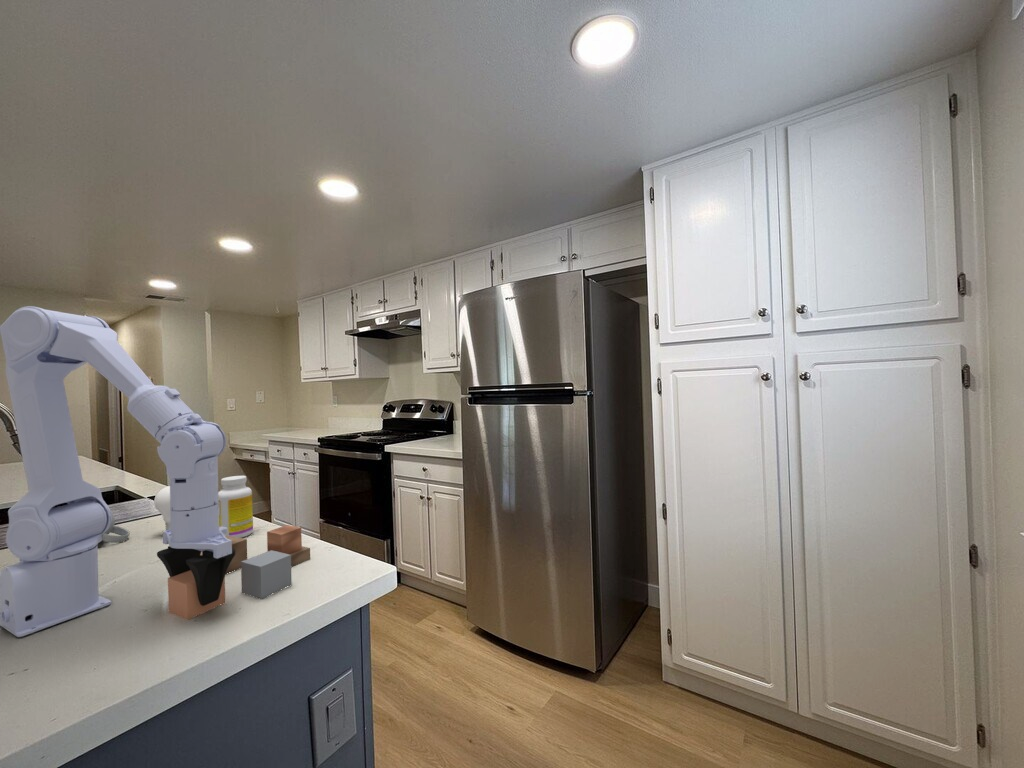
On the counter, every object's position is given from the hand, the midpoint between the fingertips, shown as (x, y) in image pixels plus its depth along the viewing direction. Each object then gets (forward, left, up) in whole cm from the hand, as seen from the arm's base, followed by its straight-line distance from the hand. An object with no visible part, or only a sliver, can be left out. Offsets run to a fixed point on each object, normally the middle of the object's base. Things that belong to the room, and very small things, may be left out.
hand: (197, 597), depth 62 cm
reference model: (+16, +3, -1) cm, 16 cm away
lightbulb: (+16, +42, -2) cm, 45 cm away
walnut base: (+8, +12, -2) cm, 15 cm away
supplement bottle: (+21, +27, -2) cm, 34 cm away
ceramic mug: (+6, +51, -2) cm, 51 cm away
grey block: (+8, -4, -2) cm, 9 cm away
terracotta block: (0, 0, -2) cm, 2 cm away
